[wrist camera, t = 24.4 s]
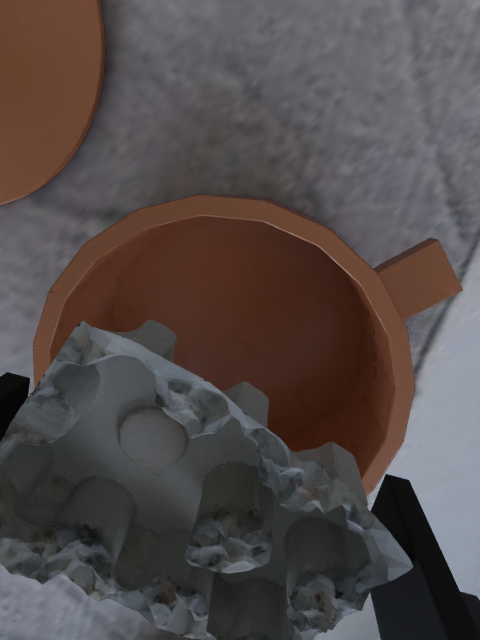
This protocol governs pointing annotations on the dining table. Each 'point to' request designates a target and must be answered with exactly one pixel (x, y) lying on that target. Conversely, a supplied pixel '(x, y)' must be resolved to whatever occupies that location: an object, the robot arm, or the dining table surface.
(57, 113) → the lid
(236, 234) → the pot
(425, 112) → the dining table surface
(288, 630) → the egg carton
